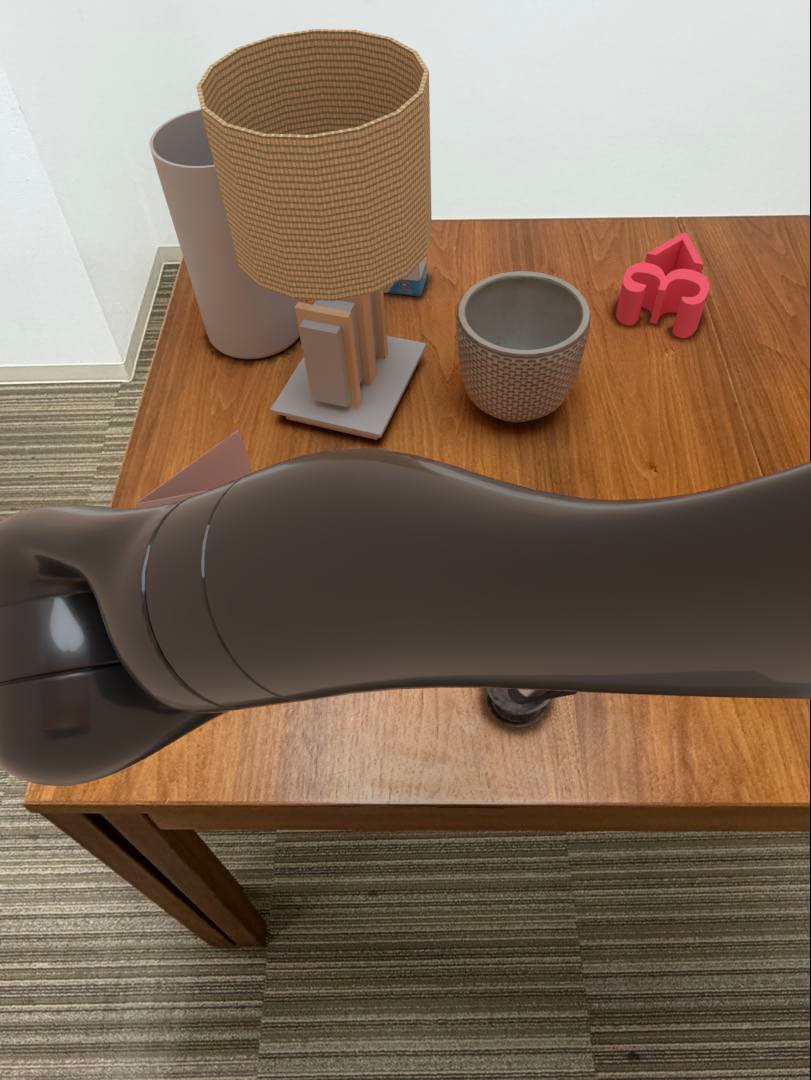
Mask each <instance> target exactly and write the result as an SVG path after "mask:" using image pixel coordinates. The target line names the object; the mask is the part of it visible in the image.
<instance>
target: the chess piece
mask: <svg viewBox="0 0 811 1080" xmlns="http://www.w3.org/2000/svg"><path fill="white" fill-rule="evenodd" d="M485 689H486V692H487V696H486V700H487V706H488V709H489V711H490V713H491V714H492V715H493V717H494V718H495V719H496V720H497V721H499V722H500V723H502V724H503V725H506V726H508V727H512V728H527V727H531V726H533V725H535V724H536V723H537V722H539V721H540V720H541V719H542V717H543V716H544V715H545V712H546V710H547V705H548V704H549V702H550V701H551V700H552V699H547V700H542V701H537V702H531V703H526V704H517V703H515V702H514V701H512V699H511V698H510V697H509V695H508V689H502V688H485Z"/></svg>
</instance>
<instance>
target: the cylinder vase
mask: <svg viewBox="0 0 811 1080" xmlns="http://www.w3.org/2000/svg"><path fill="white" fill-rule="evenodd" d="M149 150H150V153H151V156H152V160H153V162H154V166H155V169H156V172H157V175H158V179H159V183H160V185H161V188H162V191H163V195H164V198H165V201H166V205H167V208H168V211H169V215H170V217H171V221H172V225H173V229H174V231H175V234H176V237H177V240H178V243H179V247H180V250H181V254H182V256H183V260H184V263H185V266H186V269H187V273H188V277H189V280H190V283H191V286H192V289H193V292H194V293H193V294H194V296H195V299H196V302H197V306H198V309H199V313H200V315H201V319H202V322H203V326H204V328H205V332H206V335H207V338H208V341H209V342H210V344H211V345H212V346H213V347H214V348H215V349H216V350H217V351H218V352H220V353H221V354H224V355H225V356H228V357H231V358H235V359H242V360H258V359H263V358H267V357H272V356H274V355H276V354H279V353H281V352H283V351H285V350H287V348H289V347H291V346H292V345H293V344H294V343H295V342H297V340H298V339H299V338H300V334H299V329H298V323H297V318H296V313H295V306H296V305H297V303H298V302H302V303H303V301H302V299H292V298H289V297H286V296H284V295H281V294H278V293H275V292H272V291H270V290H267V289H264V288H261V287H259V286H258V285H257V284H256V283H255V282H254V281H253V280H252V279H251V278H250V277H248V276H247V275H246V274H245V273H244V272H243V271H242V270H241V269H240V268H239V264H238V260H237V256H236V251H235V247H234V243H233V239H232V235H231V231H230V227H229V223H228V218H227V214H226V210H225V206H224V202H223V198H222V194H221V190H220V185H219V181H218V177H217V173H216V169H215V165H214V161H213V157H212V152H211V148H210V144H209V140H208V136H207V132H206V128H205V123H204V119H203V115H202V111H201V108H197V109H193V110H190V111H186V112H184V113H181V114H179V115H176V116H173V117H172V118H170V119H168V120H167V121H164V123H162V124H161V125H160V126H159V127H157V128H156V130H155V131H154V132H153V133H152V135H151V136H150V139H149Z"/></svg>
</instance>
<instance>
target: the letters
mask: <svg viewBox="0 0 811 1080" xmlns="http://www.w3.org/2000/svg"><path fill="white" fill-rule="evenodd" d="M703 268H704V263H703V261H702V259H701V257H700V255H699V253H698V251H697V249H696V247H695V246H694V243H693V242H692V239H691V237H690V236H689V234H688V233H687V232H681V233H679V234H678V235H676V236H674V237H673V238H671V239H669V240H667V241H666V242H664V243H662V244H661V245H659V246H657V247H655V248H654V249H652V250H649V252H647V253H646V256H645V260H644V262H643V261H642V262H637V263H634V264H632V265H630V266H629V267H628V268H627V269H626V271H625V273H624V275H623V278H622V283H621V288H620V292H619V297H618V303H617V307H616V313H615V317H616V319H617V321H618V322H619V323H621V324H622V325H624V326H633V325H636V324H637V322H638V321H639V319H640V315H641V311H642V308H643V309H646V310H647V311H649V312H650V313H651V316H650V321H649V323H650V324H655V325H657V324H658V322H659V319H660V318H661V316H663V315H665V314H668V313H669V314H670V313H674V314H676V316H675V320H674V324H673V327H672V332H671V333H672V335H673V336H675V337H676V338H679V339H686V338H689V337H691V336H693V335H694V334H695V332H696V331H697V329H698V327H699V324H700V320H701V317H702V314H703V311H704V308H705V305H706V301H707V298H708V294H709V293H710V292H709V291H710V282H709V279H708V278H707V277H706V276H705V275H704V274H703V273H702V272H703Z"/></svg>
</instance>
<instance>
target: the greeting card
mask: <svg viewBox="0 0 811 1080" xmlns="http://www.w3.org/2000/svg"><path fill="white" fill-rule="evenodd" d="M250 473H253V470H252V467H251V463H250V460H249V456H248V454H247V449H246V446H245V443H244V440H243V436H242V434H241V430H240V428H238V429H237V430H235V431H234V432H233V433H231V434H230V435H229V436H227V437H226V438H224V439H223V440H222V441H220V442H219V443H217V445H215V446H213V447H212V448H211V449H209V450H208V451H207V452H205V453H203V454H202V455H201V456H199V457H198V458H197V459H195V460H194V461H193V462H191V463H189V464H188V465H187V466H185V467H184V468H183V469H181V470H180V471H178V472H177V473H176V474H174V475H173V476H172V477H170V478H169V479H167V480H166V481H164V482H163V483H161V484H159V486H158V487H156V488H155V489H154V490H152V491H151V492H149V493H148V494H146V495H145V496H144V497H142V498H141V499H140V500H138V501H137V502H135V503H134V506H135V508H147V507H155V506H160V505H166V504H170V503H174V502H178V501H181V500H184V499H187V498H189V497H192V496H194V495H197V494H199V493H202V492H205V491H207V490H210V489H212V488H215V487H217V486H220V485H222V484H225V483H228V482H230V481H233V480H235V479H238V478H240V477H243V476H245V475H248V474H250Z"/></svg>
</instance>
